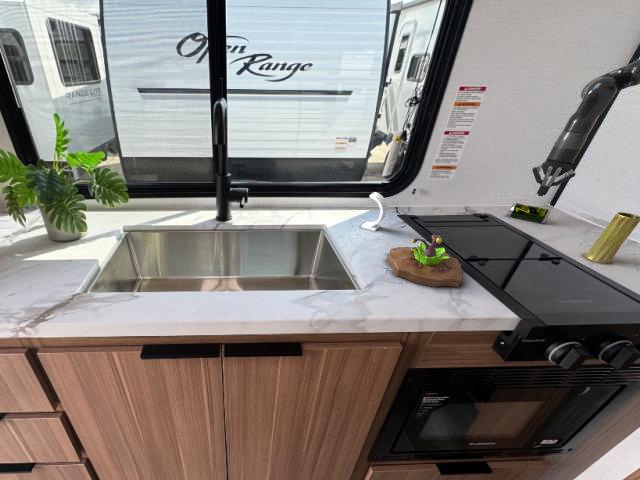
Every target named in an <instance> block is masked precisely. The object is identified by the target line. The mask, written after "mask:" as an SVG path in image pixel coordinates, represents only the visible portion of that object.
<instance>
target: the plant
mask: <svg viewBox="0 0 640 480" xmlns="http://www.w3.org/2000/svg"><path fill="white" fill-rule="evenodd" d="M431 239H432V241H431V244H429V243H428V242H427V241H426V240H425V239H423V238H417V237H415V238H414V237H413V238H412V239H411V241H410V243H412V244H416V243H417V242H419V245H416V246H398V247H397V246H396V247H393V248H392V247H391V248H390V251H389V254H388V256H387V259H386V262H387V263H388V265H389V266H390V268H391V269H392V271H393V273H394V275H395V276H396V277H398V278H402V279H404V280H408V281H410V282H412V283H415V284H418V285H423V286H429V287H434V288H438V287H451V288H452V287H453V288H459V286H460V285H461V283H462V281H463V267H462V266H463V264H461V263H460V262H459V259H457V258H455V257H453V256H451V255H450V254H449V253H448V252H446V248H445V247H438V248H436V247H437V246H436V245H437V244H441V243H442V242H443V238H442V236H441V235H440V234H439V235H437V234H436V233H433V234H432V235H431ZM457 284H459V285H457Z"/></svg>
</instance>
